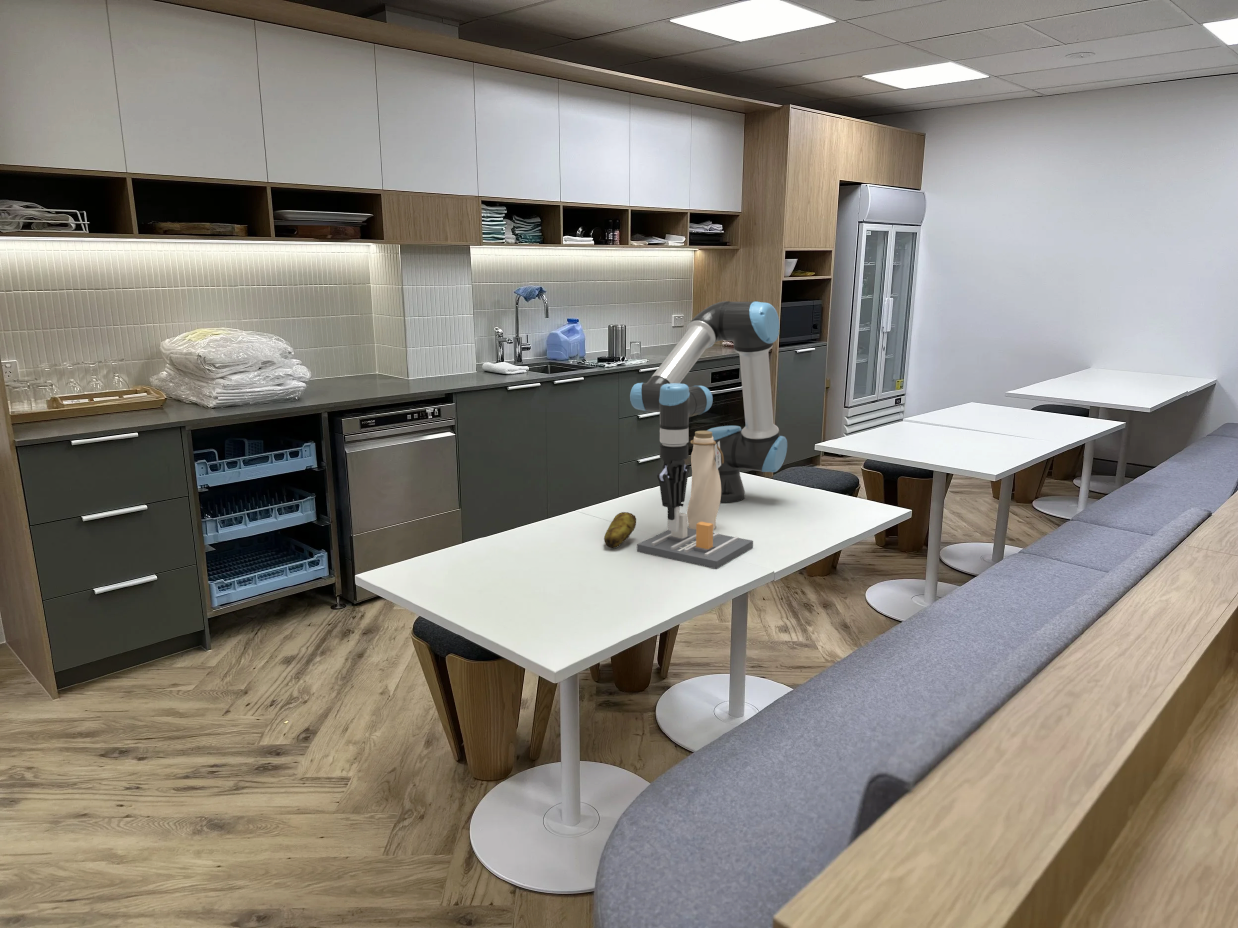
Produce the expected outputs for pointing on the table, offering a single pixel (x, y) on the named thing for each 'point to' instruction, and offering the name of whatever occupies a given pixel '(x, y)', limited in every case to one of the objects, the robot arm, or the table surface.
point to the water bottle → (704, 480)
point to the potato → (620, 529)
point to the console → (685, 551)
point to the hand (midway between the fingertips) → (673, 530)
